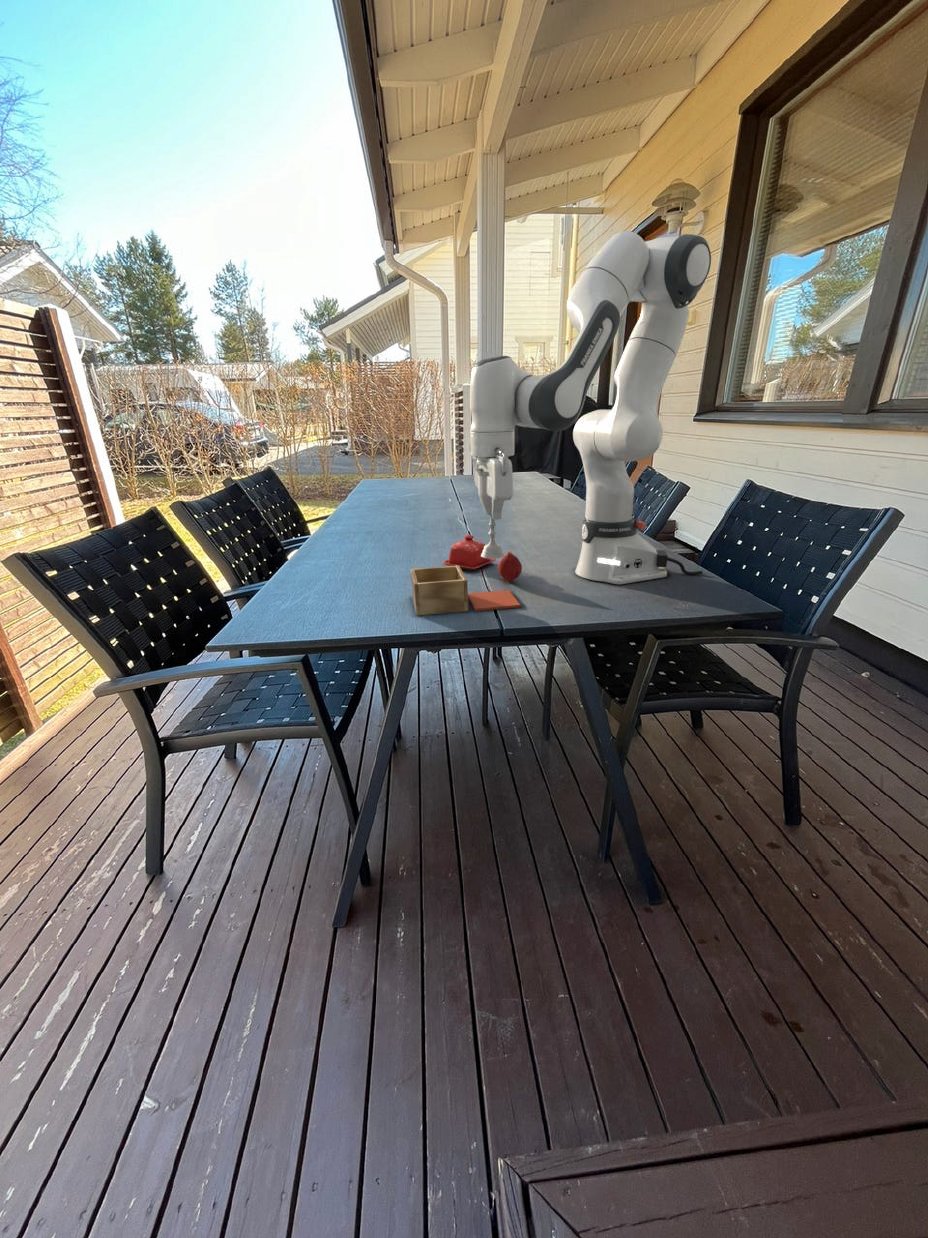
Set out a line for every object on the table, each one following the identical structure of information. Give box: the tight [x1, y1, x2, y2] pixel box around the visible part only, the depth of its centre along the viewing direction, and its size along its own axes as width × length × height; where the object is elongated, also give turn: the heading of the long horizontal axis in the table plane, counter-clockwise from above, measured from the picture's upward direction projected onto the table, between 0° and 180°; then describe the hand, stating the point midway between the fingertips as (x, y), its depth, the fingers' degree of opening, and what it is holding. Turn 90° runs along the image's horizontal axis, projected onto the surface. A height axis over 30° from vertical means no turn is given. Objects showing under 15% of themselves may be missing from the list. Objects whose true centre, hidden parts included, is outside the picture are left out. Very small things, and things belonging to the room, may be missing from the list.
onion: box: [497, 550, 523, 584], centre depth 128 cm, size 6×6×8 cm
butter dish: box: [441, 534, 497, 571], centre depth 142 cm, size 12×12×8 cm
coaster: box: [468, 589, 521, 612], centre depth 117 cm, size 10×10×1 cm
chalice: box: [476, 468, 505, 559], centre depth 110 cm, size 7×7×18 cm
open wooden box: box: [410, 565, 469, 616], centre depth 115 cm, size 11×11×7 cm
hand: (492, 515), depth 110 cm, fingers closed on chalice, 5 cm apart
